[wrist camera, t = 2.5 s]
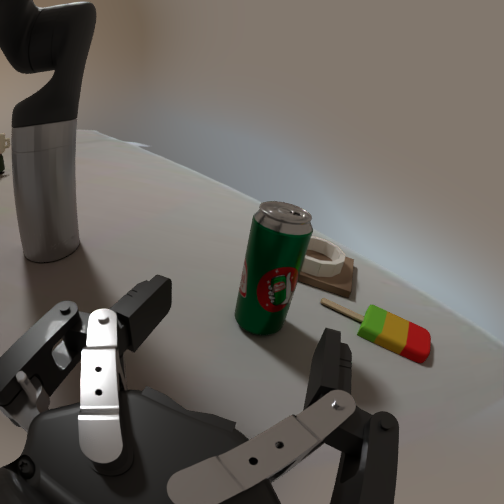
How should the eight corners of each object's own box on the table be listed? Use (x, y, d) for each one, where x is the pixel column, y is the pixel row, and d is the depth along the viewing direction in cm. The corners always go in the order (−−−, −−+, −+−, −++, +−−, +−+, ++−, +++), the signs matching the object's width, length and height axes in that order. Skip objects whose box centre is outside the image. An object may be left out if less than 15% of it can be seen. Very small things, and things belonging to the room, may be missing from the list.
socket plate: (262, 268, 37) (267, 248, 36) (282, 241, 46) (286, 224, 44) (348, 297, 34) (356, 279, 33) (351, 264, 43) (357, 248, 41)
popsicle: (422, 369, 25) (431, 358, 24) (310, 316, 31) (315, 304, 30) (425, 341, 29) (432, 330, 28) (326, 295, 35) (330, 283, 34)
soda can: (244, 299, 31) (266, 195, 25) (287, 315, 29) (319, 211, 24) (225, 327, 26) (245, 209, 21) (274, 345, 25) (311, 229, 20)
